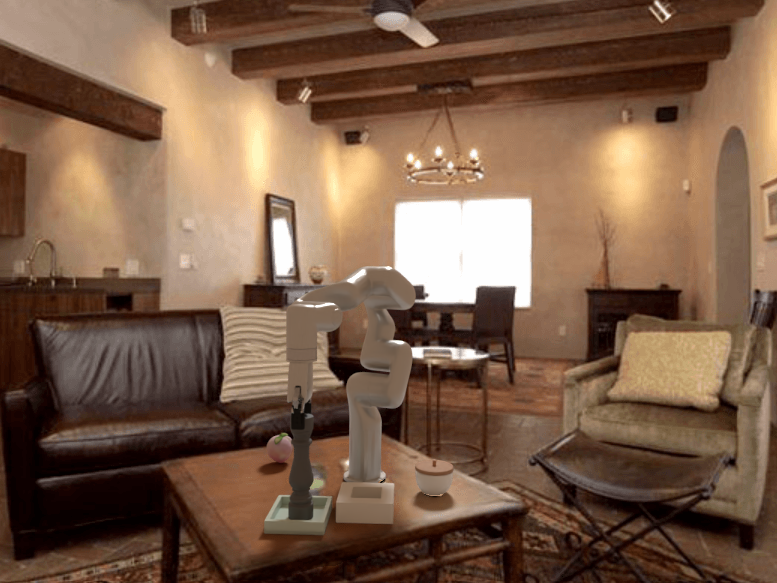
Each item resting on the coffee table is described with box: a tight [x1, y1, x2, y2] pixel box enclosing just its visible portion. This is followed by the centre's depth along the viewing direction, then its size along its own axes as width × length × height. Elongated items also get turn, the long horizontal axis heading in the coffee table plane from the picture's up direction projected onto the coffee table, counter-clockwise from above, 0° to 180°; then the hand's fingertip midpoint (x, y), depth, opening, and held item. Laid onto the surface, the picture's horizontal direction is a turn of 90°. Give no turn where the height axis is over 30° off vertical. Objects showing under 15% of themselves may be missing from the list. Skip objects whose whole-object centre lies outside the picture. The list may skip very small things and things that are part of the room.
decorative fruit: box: [266, 432, 294, 464], centre depth 188 cm, size 9×8×10 cm
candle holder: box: [288, 413, 314, 520], centre depth 145 cm, size 6×6×25 cm
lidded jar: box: [414, 458, 454, 495], centre depth 165 cm, size 11×11×9 cm
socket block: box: [335, 481, 395, 525], centre depth 151 cm, size 14×14×5 cm
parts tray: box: [263, 494, 333, 536], centre depth 146 cm, size 16×14×3 cm
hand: (301, 423), depth 145 cm, fingers open, 9 cm apart
